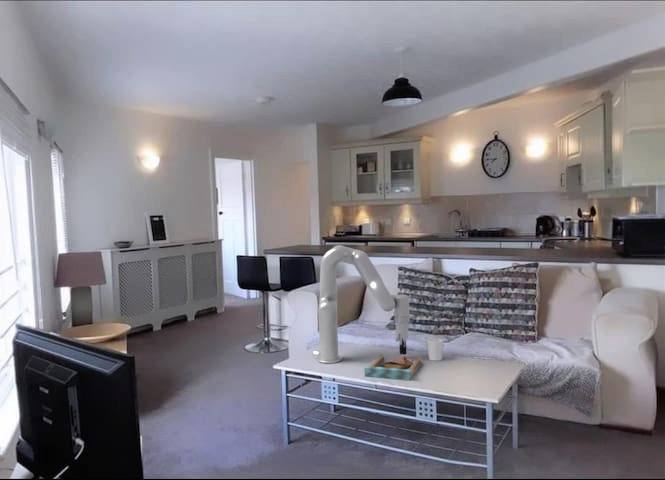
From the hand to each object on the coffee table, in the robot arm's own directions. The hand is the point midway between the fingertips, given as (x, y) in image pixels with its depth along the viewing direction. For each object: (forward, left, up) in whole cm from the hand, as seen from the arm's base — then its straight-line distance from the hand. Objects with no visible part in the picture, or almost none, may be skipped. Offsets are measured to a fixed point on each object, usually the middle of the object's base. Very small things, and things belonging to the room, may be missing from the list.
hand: (403, 353), depth 254 cm
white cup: (+16, +3, -3) cm, 16 cm away
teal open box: (0, -20, -2) cm, 20 cm away
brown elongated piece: (+2, -16, -3) cm, 16 cm away
